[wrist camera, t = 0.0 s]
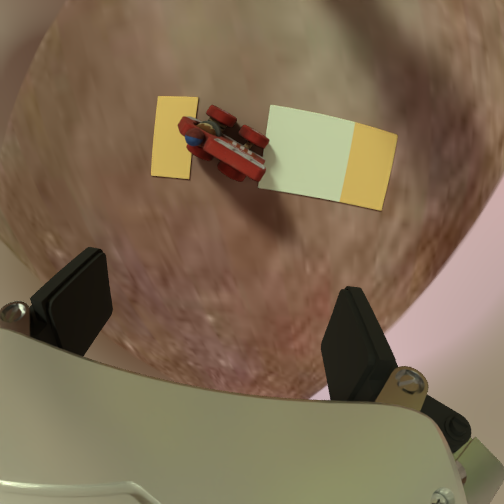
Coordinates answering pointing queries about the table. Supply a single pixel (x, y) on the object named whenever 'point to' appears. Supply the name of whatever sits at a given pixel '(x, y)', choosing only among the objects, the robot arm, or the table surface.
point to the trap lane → (294, 153)
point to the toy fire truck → (224, 144)
